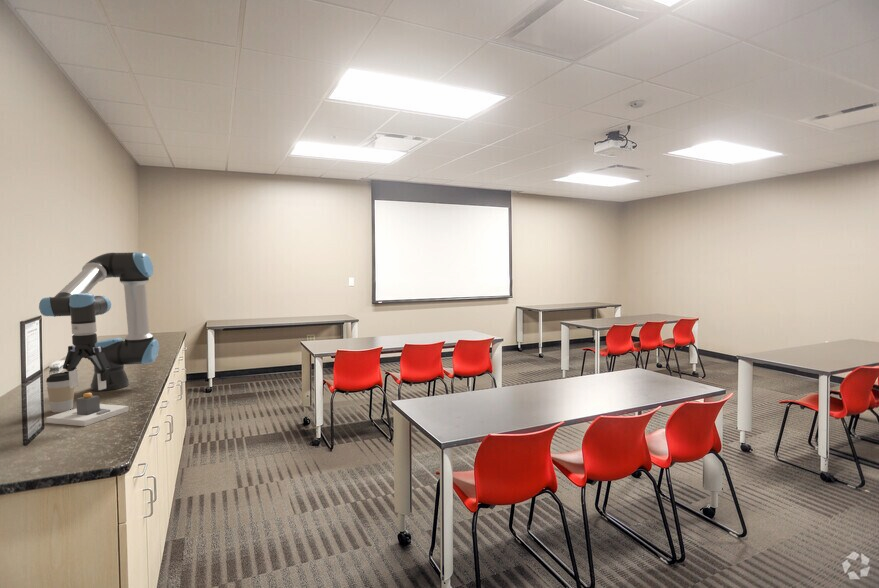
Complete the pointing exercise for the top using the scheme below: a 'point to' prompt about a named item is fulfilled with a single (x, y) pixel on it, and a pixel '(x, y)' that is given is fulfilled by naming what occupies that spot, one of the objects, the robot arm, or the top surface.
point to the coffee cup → (60, 392)
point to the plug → (88, 404)
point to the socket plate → (84, 420)
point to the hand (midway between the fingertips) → (88, 388)
